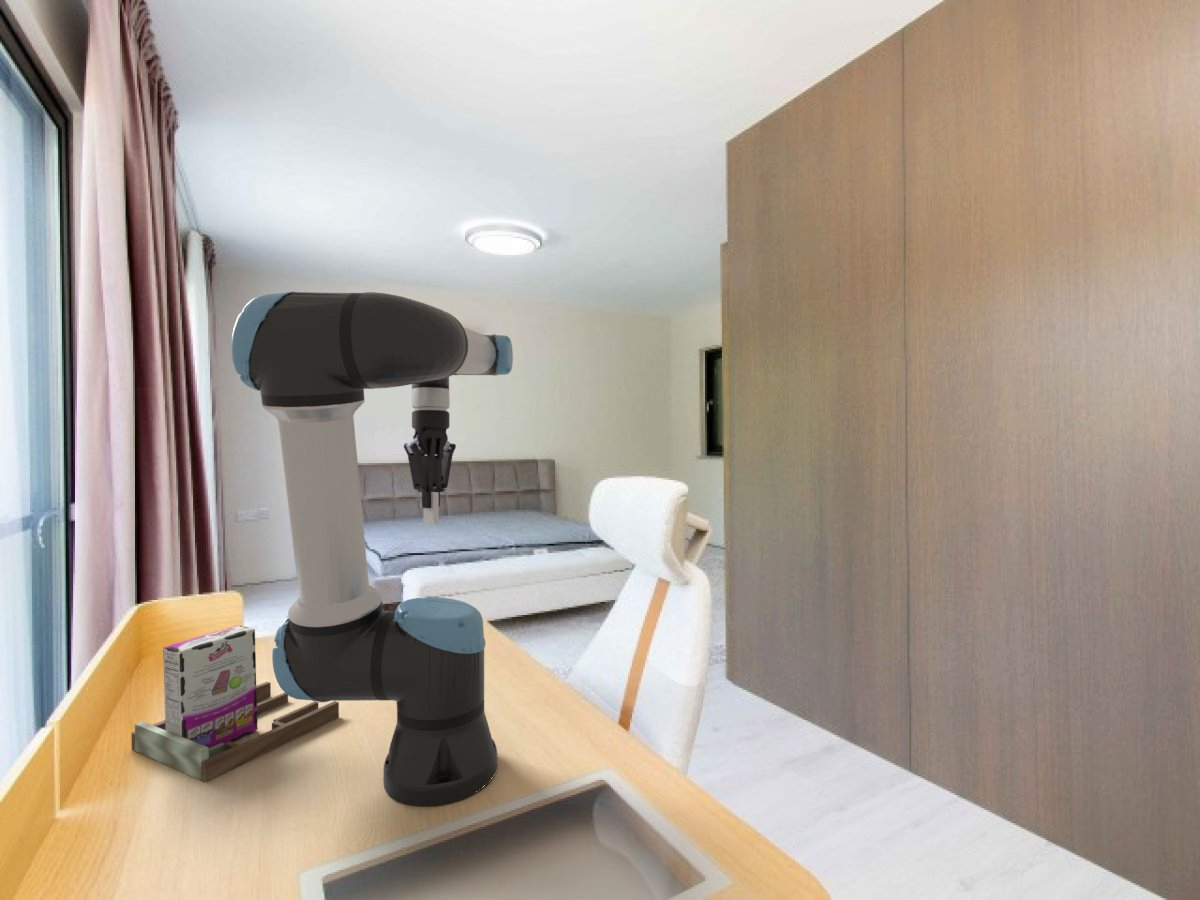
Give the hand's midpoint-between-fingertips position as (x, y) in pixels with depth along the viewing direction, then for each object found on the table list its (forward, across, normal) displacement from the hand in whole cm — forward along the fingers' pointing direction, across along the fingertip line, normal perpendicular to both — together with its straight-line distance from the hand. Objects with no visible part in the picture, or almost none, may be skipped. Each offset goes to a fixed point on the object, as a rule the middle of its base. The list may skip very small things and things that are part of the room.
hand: (431, 523), depth 120 cm
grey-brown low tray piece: (+29, +35, -6) cm, 46 cm away
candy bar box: (+30, +39, -7) cm, 50 cm away
